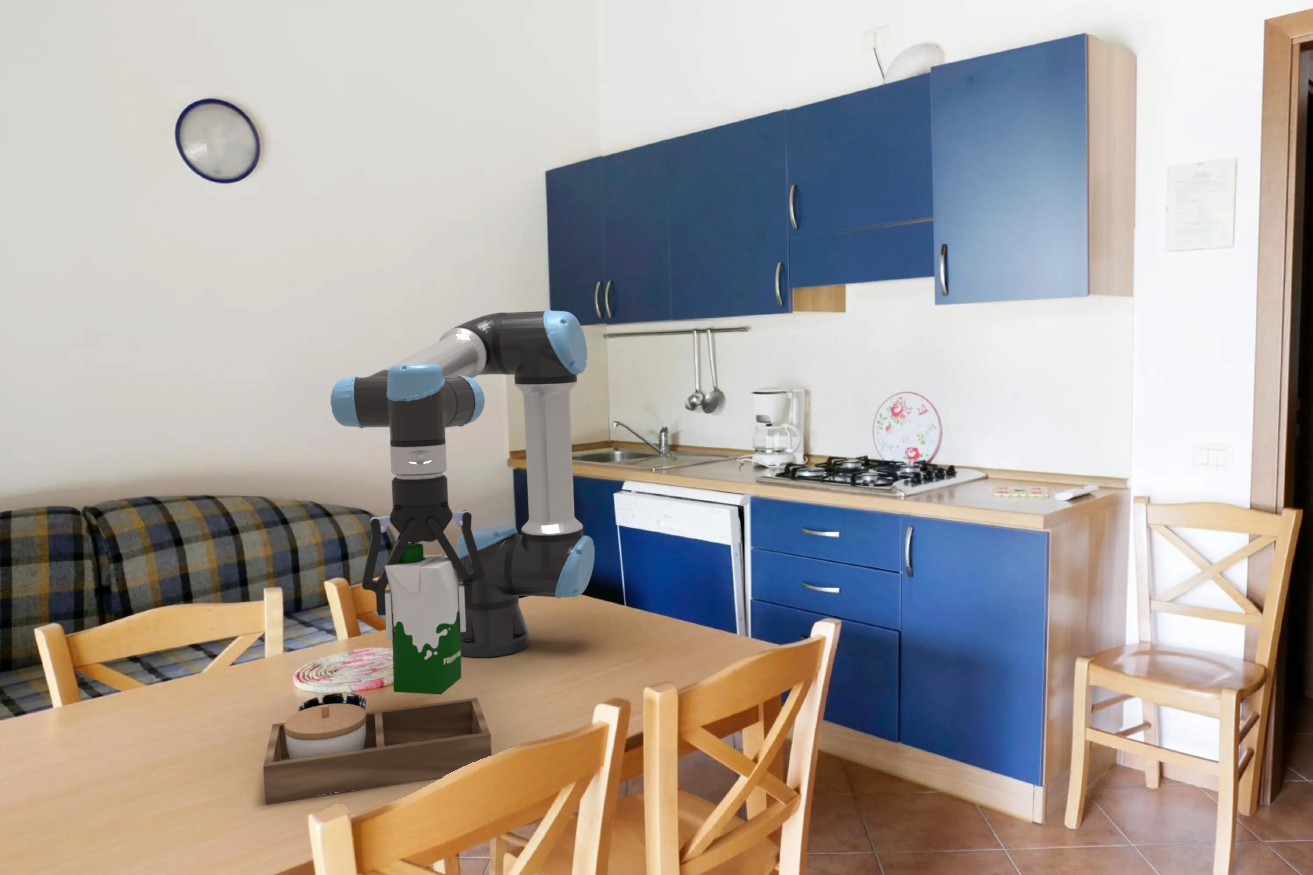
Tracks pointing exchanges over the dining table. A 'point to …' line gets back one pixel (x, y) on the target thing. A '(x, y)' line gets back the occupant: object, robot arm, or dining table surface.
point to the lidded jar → (325, 730)
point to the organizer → (383, 752)
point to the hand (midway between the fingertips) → (426, 633)
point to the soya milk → (424, 622)
